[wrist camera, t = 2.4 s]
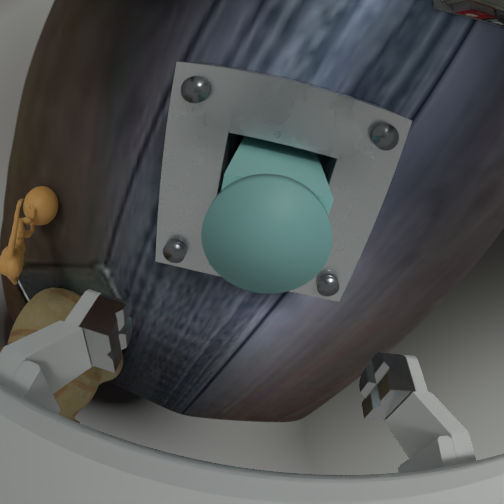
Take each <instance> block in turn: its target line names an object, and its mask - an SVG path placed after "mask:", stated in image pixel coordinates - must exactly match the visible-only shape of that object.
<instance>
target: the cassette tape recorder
mask: <svg viewBox="0 0 504 504" xmlns="http://www.w3.org/2000/svg"><path fill="white" fill-rule="evenodd" d="M433 6H434V10H439V11H444V12H448V13H452V14H457V15H461V16H465V17H468V18H472V19H476V20H479V21H483V22H486V23H489V24H492V25H496V26H499V27H502V28H504V0H433Z"/></svg>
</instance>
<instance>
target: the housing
mask: <svg viewBox="0 0 504 504" xmlns="http://www.w3.org/2000/svg"><path fill="white" fill-rule="evenodd" d="M411 124H412V120H410V119H408V118H406V117H403V116H401V115H399V114H397V113H395V112H392V111H390V110H388V109H386V108H383V107H381V106H378V105H376V104H373V103H370V102H367V101H364V100H361V99H358V98H355V97H352V96H349V95H346V94H343V93H340V92H337V91H333V90H330V89H326V88H323V87H319V86H316V85H312V84H308V83H305V82H301V81H297V80H293V79H289V78H284V77H280V76H276V75H271V74H266V73H262V72H257V71H252V70H246V69H241V68H235V67H229V66H223V65H216V64H209V63H198V62H176V68H175V74H174V80H173V86H172V92H171V99H170V105H169V112H168V119H167V127H166V135H165V143H164V152H163V161H162V171H161V181H160V193H159V206H158V220H157V238H156V260H155V261H156V262H160V263H165V264H169V265H173V266H177V267H181V268H186V269H190V270H194V271H199V272H203V273H207V274H212V275H216V276H220V275H219V274H218V273H217V272H216V271H215V270H214V269H213V267H212V266H211V265H209V261H208V260H207V258H206V255H205V253H204V250H203V246H202V240H201V231H202V225H203V220H204V218H205V215H206V213H207V211H208V209H209V207H210V205H211V203H212V202H213V200H214V198H215V197H216V196H217V195H218V193H220V192H221V189H222V183H223V178H224V173H225V171H226V169H227V168H228V166H229V164H230V162H231V160H232V158H233V156H234V155H235V150H236V145H237V140H238V135H244V136H249V137H253V138H258V139H262V140H267V141H271V142H275V143H280V144H284V145H288V146H292V147H296V148H300V149H304V150H308V151H311V152H315V153H318V155H317V156H318V158H319V161H320V164H321V166H322V169H323V171H324V174H325V177H326V180H327V182H328V185H329V188H330V191H331V193H332V196H333V199H334V200H333V203H332V206H331V209H330V212H329V215H328V217H329V221H330V225H331V229H332V248H331V252H330V255H329V258H328V260H327V262H326V264H325V265H324V267H323V268H322V270H321V271H320V272H319V273H318V274H317V275H316V276H315V277H314V278H313V279H312V280H311V281H309V282H308V283H306V284H305V285H303V286H301V287H299V288H296V289H294V290H291V291H289V292H294V293H299V294H304V295H308V296H313V297H318V298H323V299H328V300H333V301H338V302H339V301H340V299H341V297H342V295H343V293H344V291H345V289H346V286H347V284H348V282H349V280H350V278H351V276H352V274H353V271H354V269H355V267H356V265H357V263H358V261H359V258H360V256H361V254H362V252H363V249H364V247H365V245H366V242H367V240H368V238H369V235H370V233H371V231H372V228H373V226H374V224H375V221H376V219H377V216H378V214H379V211H380V209H381V206H382V204H383V201H384V199H385V196H386V194H387V191H388V189H389V186H390V183H391V181H392V178H393V175H394V173H395V170H396V167H397V165H398V162H399V159H400V156H401V153H402V150H403V148H404V145H405V142H406V139H407V136H408V133H409V130H410V127H411ZM220 277H221V276H220Z"/></svg>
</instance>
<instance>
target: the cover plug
mask: <svg viewBox="0 0 504 504" xmlns="http://www.w3.org/2000/svg"><path fill="white" fill-rule="evenodd" d="M333 200H334V199H333V196H332V193H331V191H330V188H329V185H328V182H327V180H326V177H325V174H324V171H323V169H322V166H321V164H320V161H319V158H318V156H317V153H315V152H311V151H308V150H304V149H300V148H296V147H292V146H288V145H284V144H280V143H275V142H271V141H267V140H262V139H258V138H253V137H249V136H244V138H243V140H242V142H241V144H240V145H239V147H238V149H237V151H236V153H235V155H234V156H233V158H232V160H231V162H230V164H229V166H228V168H227V169H226V171H225V173H224V178H223V183H222V189H221V192H220V193H218V195H217V196H216V197H215V198H214V200H213V202H212V203H211V205H210V207H209V209H208V211H207V213H206V215H205V218H204V220H203V225H202V231H201V240H202V246H203V250H204V253H205V255H206V258H207V260H208V261H209V265H211V266H212V267H213V269H214V270H215V271H216V272H217V273H218V274H219V275H220V276H221V277H222V278H223V279H225V280H226V281H228V282H229V283H231V284H232V285H234V286H236V287H238V288H241V289H244V290H246V291H250V292H255V293H261V294H277V293H283V292H287V291H291V290H294V289H296V288H299V287H301V286H303V285H305V284H306V283H308V282H309V281H311V280H312V279H313V278H314V277H315V276H316V275H317V274H318V273H319V272H320V271H321V270H322V268H323V267H324V265H325V264H326V262H327V260H328V258H329V255H330V252H331V248H332V229H331V225H330V221H329V217H328V215H329V212H330V209H331V206H332V203H333Z"/></svg>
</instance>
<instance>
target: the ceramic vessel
mask: <svg viewBox="0 0 504 504" xmlns="http://www.w3.org/2000/svg"><path fill="white" fill-rule="evenodd" d="M81 297H82V296H80V295H79V294H77V293H75V292H73V291H70V290H67V289H64V288H48V289H45V290H42V291H40V292H39V293H37V294H36V295H35V296H34V297H33V298H32V299H31V300H30V301H29V302H28V303H27V304H26V305H25V306H24V308H23V309H22V311H21V312H20V314H19V316H18V317H17V319H16V321H15V324H14V325H13V328H12V330H11V333H10V336H9V340H8V345H9V344H11V343H13V342H15V341H17V340H19V339H21V338H24V337H26V336H28V335H30V334H32V333H34V332H36V331H38V330H41V329H43V328H45V327H47V326H49V325H51V324H53V323H56V322H58V321H60V320H61V321H65V319H66V318H67V316H68V315H69V314H70V312H71V311H72V309H73V308H74V306H75V305H76V304H77V302H78V301H79V299H80V298H81ZM2 349H3V348H2V347H0V352H1V351H2ZM121 353H122V350H121ZM91 366H92V365H91ZM122 367H123V354H122V359H121V361H120V363H119V365H118V367H117V370H116V372H115V373H114V372H111V371H108V370H105V369H101V368H98V367H95V366H92V367H91V368H89V369H88V370H86V371H85V372H84V373H82V374H81V375H79V376H78V377H76V378H75V379H74V380H72V381H71V382H69V383H68V384H66V385H65V386H64V387H62V388H61V389H59V390H58V391H56V392H55V393H54V394H53V395H54V397H55V399H56V401H57V403H58V404H59V406H60V409H61V410H60V412H59V415H62V416H64V417H66V418H68V419H71V420H73V421H75V422H78V421H77V420H75V416H76V414H77V413H78V412H79V411H80V410H81V409H82V408H83V407H84V406H86V405H87V404H88V403H89V402H90V400H91V399H92V398H93V396H94V394H95V392H96V390H97V388H98V385H99V384H101V383H103V382H106V381H109V380H112V379H114V378H115V377H117V375H118V374H119V373H120V371H121V369H122ZM78 423H80V422H78Z"/></svg>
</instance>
